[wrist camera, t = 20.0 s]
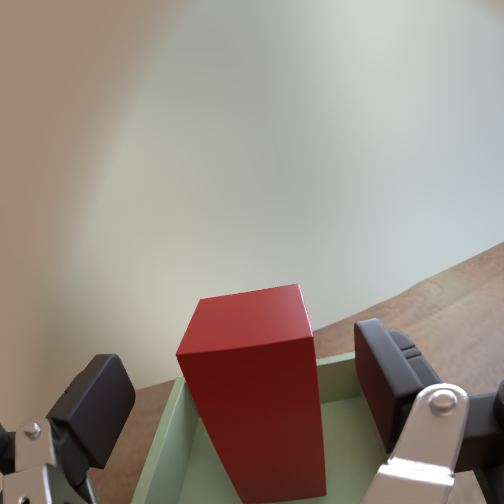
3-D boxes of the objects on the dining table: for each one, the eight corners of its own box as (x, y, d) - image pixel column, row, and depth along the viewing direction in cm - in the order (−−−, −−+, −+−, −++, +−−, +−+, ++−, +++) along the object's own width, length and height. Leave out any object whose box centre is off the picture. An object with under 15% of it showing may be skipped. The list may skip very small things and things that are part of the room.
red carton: (242, 504, 14) (174, 354, 11) (246, 447, 19) (199, 298, 16) (326, 496, 13) (313, 336, 10) (318, 438, 18) (298, 282, 15)
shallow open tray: (161, 557, 10) (121, 528, 9) (194, 419, 24) (176, 376, 22) (415, 534, 9) (438, 501, 8) (367, 395, 22) (367, 348, 21)
